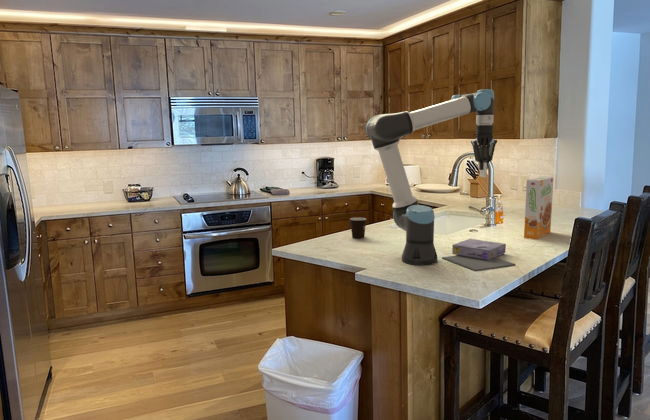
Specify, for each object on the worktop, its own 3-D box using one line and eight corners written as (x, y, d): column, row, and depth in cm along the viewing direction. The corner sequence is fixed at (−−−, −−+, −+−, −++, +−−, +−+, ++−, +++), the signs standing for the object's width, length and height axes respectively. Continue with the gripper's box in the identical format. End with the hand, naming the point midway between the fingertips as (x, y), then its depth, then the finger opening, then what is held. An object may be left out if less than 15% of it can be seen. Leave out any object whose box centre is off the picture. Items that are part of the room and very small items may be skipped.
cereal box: (536, 239, 254) (539, 180, 249) (523, 237, 258) (526, 179, 253) (550, 232, 271) (553, 176, 266) (538, 230, 275) (541, 176, 270)
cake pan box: (506, 253, 227) (469, 247, 238) (507, 242, 226) (469, 236, 237) (490, 261, 212) (451, 254, 223) (490, 250, 211) (451, 243, 222)
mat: (475, 271, 199) (475, 269, 199) (442, 258, 219) (442, 257, 219) (515, 265, 207) (515, 263, 207) (479, 253, 227) (479, 252, 227)
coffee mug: (358, 240, 259) (358, 221, 257) (346, 237, 265) (346, 218, 264) (373, 236, 266) (373, 218, 265) (362, 234, 273) (362, 216, 271)
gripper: (477, 124, 220) (476, 178, 224) (502, 124, 224) (500, 176, 228) (467, 125, 227) (466, 177, 231) (491, 124, 231) (489, 175, 235)
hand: (483, 176), depth 229 cm, fingers closed
